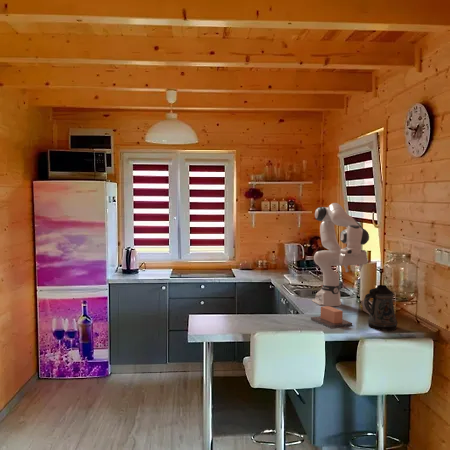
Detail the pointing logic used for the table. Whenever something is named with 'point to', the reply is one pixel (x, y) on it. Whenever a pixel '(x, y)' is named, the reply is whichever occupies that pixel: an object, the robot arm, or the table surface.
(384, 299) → the beer stein
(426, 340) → the table surface
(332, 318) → the block
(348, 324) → the base plate
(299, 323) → the table surface
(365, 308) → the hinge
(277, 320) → the table surface
